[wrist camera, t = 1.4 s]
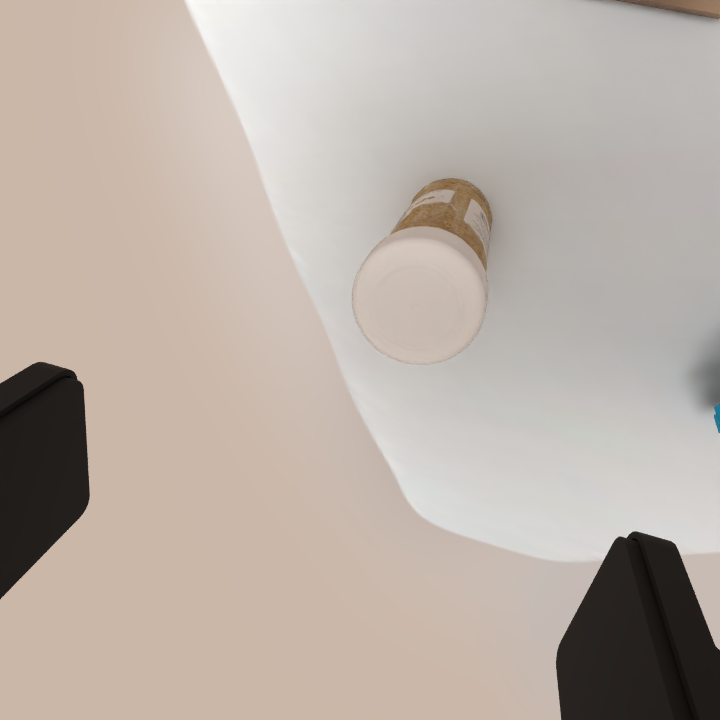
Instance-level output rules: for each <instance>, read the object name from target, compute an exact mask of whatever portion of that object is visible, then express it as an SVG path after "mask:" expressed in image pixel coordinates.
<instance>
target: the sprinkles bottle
mask: <svg viewBox="0 0 720 720" xmlns="http://www.w3.org/2000/svg"><path fill="white" fill-rule="evenodd" d="M491 222H492V218H491V212H490V208H489V205H488V202H487V200H486V199H485V197H484V196H483V195H482V193H481V192H480V190H478V189H477V188H475V187H474V186H473V185H471V184H470V183H468V182H466V181H463V180H459V179H443V180H438V181H435V182H432V183H431V184H429V185H428V186H426V187H424V188H423V189H422V190H421V191H420V192H419V193H418V194H417V195H416V196H415V197H414V199H413V201H412V203H411V205H410V207H409V208H408V209H407V211H406V212H405V214H404V215H403V217H402V218H401V220H400V221H399V223H398V224H397V225H396V227H395V228H394V229H393V231H392V232H391V234H390V235H389V236H388V237H386V238H385V239H384V240H382V241H381V242H380V243H379V244H378V245H377V246H376V247H375V248H374V249H373V250H372V252H371V253H370V254H369V255H368V257H367V258H366V260H365V261H364V263H363V264H362V266H361V268H360V269H359V271H358V273H357V275H356V278H355V281H354V285H353V291H352V306H353V312H354V316H355V319H356V322H357V324H358V326H359V328H360V330H361V332H362V333H363V335H364V336H365V337H366V339H367V340H368V341H369V342H370V343H371V344H372V345H373V346H374V347H375V348H376V349H377V350H379V351H380V352H382V353H383V354H385V355H386V356H388V357H390V358H392V359H395V360H398V361H401V362H405V363H409V364H421V365H423V364H433V363H438V362H441V361H444V360H447V359H449V358H451V357H453V356H455V355H456V354H458V353H460V352H461V351H462V350H463V349H465V348H466V347H467V346H468V345H469V344H470V342H471V341H472V340H473V339H474V338H475V336H476V335H477V333H478V331H479V329H480V327H481V325H482V322H483V319H484V315H485V311H486V305H487V295H488V283H487V277H486V269H487V256H488V246H489V232H490V230H491Z"/></svg>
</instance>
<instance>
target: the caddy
mask: <svg viewBox="0 0 720 720" xmlns="http://www.w3.org/2000/svg"><path fill="white" fill-rule="evenodd" d="M618 1H624V2H629V3H635V4H640V5H646V6H651V7H657V8H662V9H668V10H673V11H679V12H685V13H690V14H696V15H701V16H707V17H712V18H720V0H618Z"/></svg>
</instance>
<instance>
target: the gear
mask: <svg viewBox="0 0 720 720" xmlns="http://www.w3.org/2000/svg"><path fill="white" fill-rule="evenodd" d="M714 409H715V412H716V414H715V415H714V419H715V422H716V425H717V428H718V432H719V433H720V404H719V405H717V406H715V407H714Z"/></svg>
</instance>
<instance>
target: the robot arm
mask: <svg viewBox="0 0 720 720" xmlns="http://www.w3.org/2000/svg"><path fill="white" fill-rule="evenodd" d="M89 496H90V494H89V475H88V457H87V441H86V422H85V404H84V389H83V385H82V383H81V382H80V381H78V380H77V376H76V374H75V373H74V372H73V371H71V370H69V369H66V368H62V367H59V366H55V365H52V364H48V363H44V362H37V363H35V364H32V365H31V366H29V367H27V368H26V369H24V370H23V371H21V372H19V373H17V374H16V375H14V376H12V377H10V378H9V379H7V380H5V381H4V382H2V383H0V599H1V598H2V596H4V595H5V594H6V593H7V592H8V591H9V590H10V589H11V587H12V586H13V585H14V584H15V583H16V582H17V581H18V580H19V579H20V578H21V577H22V576H23V575H24V574H25V573H26V572H27V571H28V570H29V569H30V568H31V567H32V566H33V565H34V564H35V563H36V562H37V561H38V560H39V559H40V558H41V557H42V556H43V554H45V553H46V552H47V550H49V549H50V547H51V546H52V545H53V544H54V543H55V542H56V541H57V540H58V539H59V538H60V537H61V536H62V535H63V534H64V533H65V532H66V531H67V530H68V529H69V528H70V527H71V526H72V525H73V524H74V523H75V522H76V521H77V520H78V519H79V518H80V517H81V515H82V514H83V513H84V511H85V510H86V507H87V505H88V501H89ZM556 659H557V660H556V669H557V680H558V690H559V700H560V710H561V720H720V650H719V649H718V648H717V647H716V646H715V644H714V642H713V639H712V636H711V634H710V631H709V629H708V626H707V624H706V621H705V618H704V616H703V613H702V611H701V608H700V605H699V603H698V600H697V598H696V595H695V592H694V590H693V587H692V585H691V582H690V579H689V577H688V574H687V572H686V569H685V567H684V564H683V562H682V559H681V556H680V554H679V551H678V549H677V547H676V545H675V544H674V543H673V542H671V541H668V540H665V539H661V538H658V537H654V536H651V535H647V534H644V533H640V532H637V531H636V532H632V533H631V534H629V536H628V537H627V538H624V537H618V538H616V540H615V541H614V542H613V544H612V546H611V548H610V550H609V552H608V554H607V556H606V557H605V559H604V561H603V563H602V565H601V567H600V569H599V571H598V573H597V575H596V576H595V578H594V580H593V582H592V584H591V586H590V588H589V590H588V591H587V593H586V595H585V597H584V599H583V601H582V603H581V604H580V606H579V608H578V610H577V612H576V614H575V616H574V618H573V620H572V621H571V623H570V625H569V627H568V629H567V631H566V633H565V635H564V636H563V638H562V640H561V642H560V644H559V648H558V652H557V658H556Z"/></svg>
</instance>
